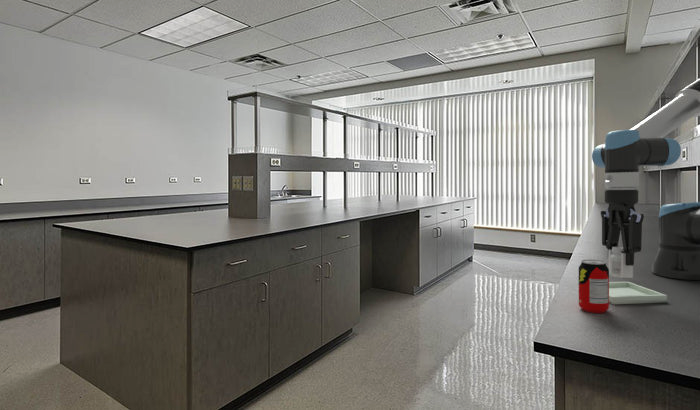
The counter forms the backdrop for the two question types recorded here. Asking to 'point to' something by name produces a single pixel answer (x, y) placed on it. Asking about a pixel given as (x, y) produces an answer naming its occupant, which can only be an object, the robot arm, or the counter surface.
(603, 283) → the beverage can
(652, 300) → the tray
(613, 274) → the pill bottle
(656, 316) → the counter surface
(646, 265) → the counter surface
